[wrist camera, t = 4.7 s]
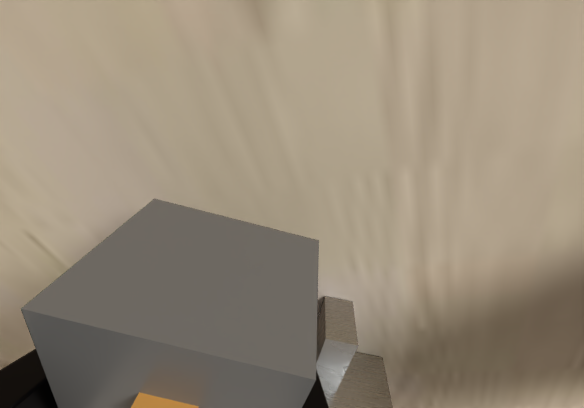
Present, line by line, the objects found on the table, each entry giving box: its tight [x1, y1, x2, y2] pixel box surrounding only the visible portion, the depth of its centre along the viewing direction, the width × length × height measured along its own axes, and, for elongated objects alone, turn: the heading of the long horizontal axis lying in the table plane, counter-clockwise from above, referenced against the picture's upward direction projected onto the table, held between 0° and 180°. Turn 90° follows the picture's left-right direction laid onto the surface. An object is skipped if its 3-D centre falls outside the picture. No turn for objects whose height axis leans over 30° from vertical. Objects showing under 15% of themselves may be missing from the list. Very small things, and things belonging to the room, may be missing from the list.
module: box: [21, 199, 319, 408], centre depth 8 cm, size 5×7×5 cm
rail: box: [316, 296, 393, 408], centre depth 14 cm, size 18×6×5 cm, turn 80°
